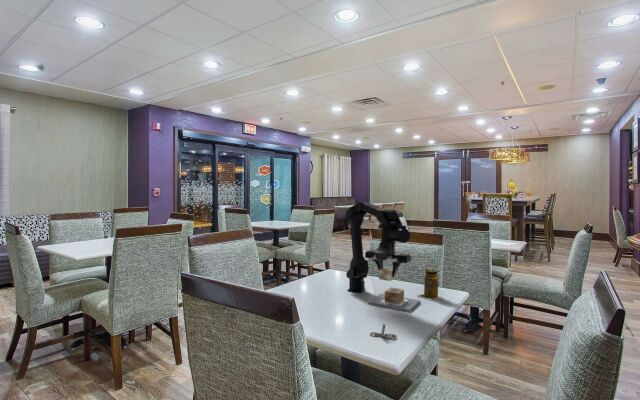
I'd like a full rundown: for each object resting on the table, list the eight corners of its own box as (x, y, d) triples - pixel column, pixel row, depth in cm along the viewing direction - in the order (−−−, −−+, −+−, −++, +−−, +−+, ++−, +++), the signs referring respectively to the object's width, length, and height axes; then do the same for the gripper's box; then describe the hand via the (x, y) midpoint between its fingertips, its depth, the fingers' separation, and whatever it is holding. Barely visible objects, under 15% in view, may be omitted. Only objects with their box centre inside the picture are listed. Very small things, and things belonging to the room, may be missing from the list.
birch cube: (379, 279, 147) (379, 269, 147) (384, 276, 151) (384, 267, 151) (390, 281, 144) (390, 271, 144) (395, 278, 148) (395, 269, 148)
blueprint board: (368, 304, 148) (368, 301, 148) (380, 295, 160) (381, 293, 160) (409, 312, 139) (409, 309, 139) (420, 302, 150) (420, 300, 150)
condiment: (442, 297, 158) (442, 271, 158) (429, 300, 154) (430, 273, 153) (429, 293, 165) (429, 268, 164) (416, 296, 160) (417, 270, 160)
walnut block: (384, 301, 148) (384, 291, 148) (390, 297, 154) (390, 287, 154) (398, 304, 145) (398, 293, 145) (403, 299, 151) (403, 289, 151)
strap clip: (397, 337, 116) (397, 324, 116) (395, 341, 113) (395, 328, 113) (371, 333, 119) (371, 321, 119) (369, 336, 116) (369, 324, 116)
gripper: (359, 239, 146) (358, 277, 146) (402, 244, 135) (401, 284, 136) (371, 236, 155) (370, 271, 155) (412, 240, 144) (411, 278, 145)
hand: (387, 276), depth 147 cm, fingers closed on birch cube, 5 cm apart
